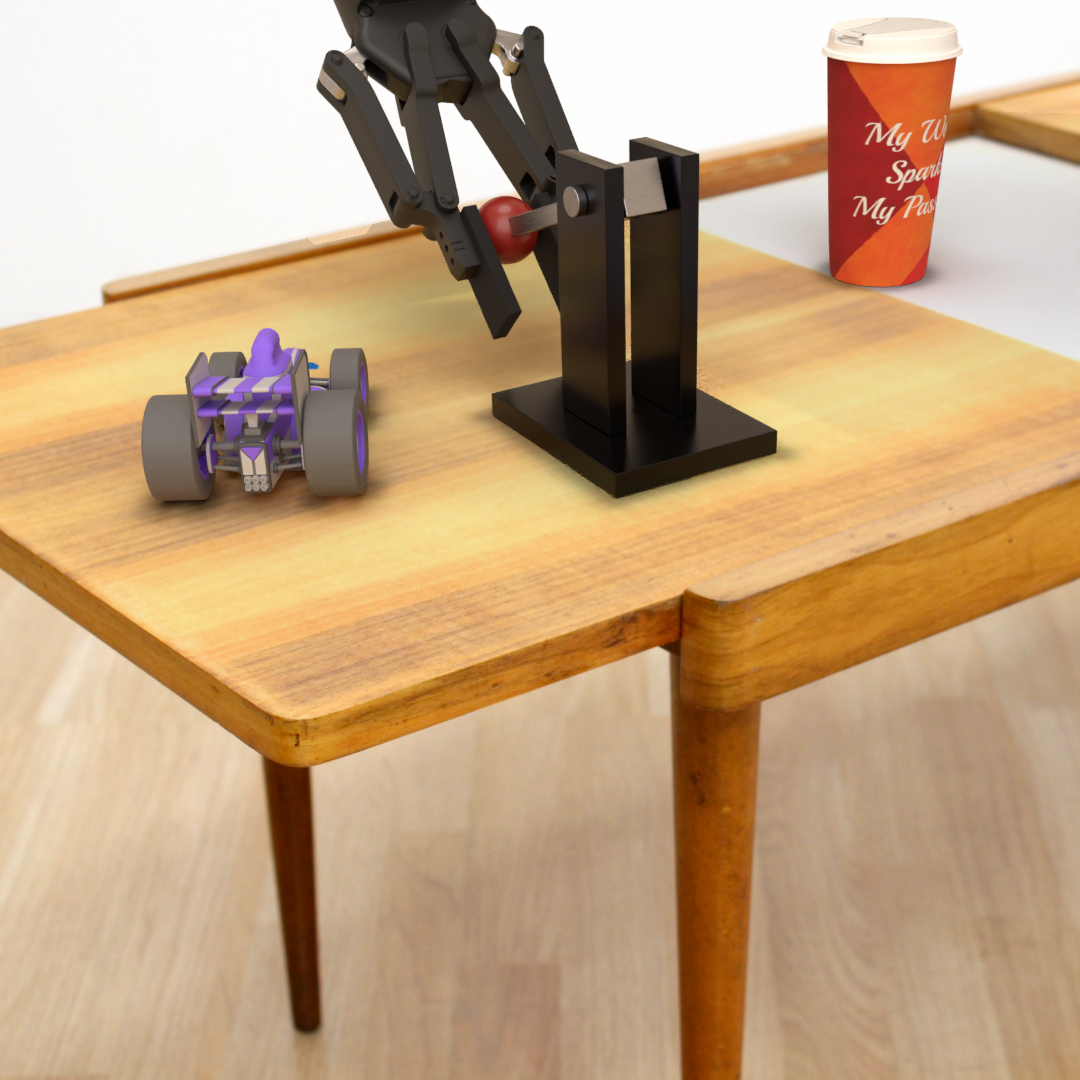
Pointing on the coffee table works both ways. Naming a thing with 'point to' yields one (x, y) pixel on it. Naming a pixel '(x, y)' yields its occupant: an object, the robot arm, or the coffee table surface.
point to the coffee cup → (886, 144)
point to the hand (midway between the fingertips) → (543, 317)
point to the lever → (520, 224)
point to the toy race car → (261, 423)
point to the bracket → (656, 338)
